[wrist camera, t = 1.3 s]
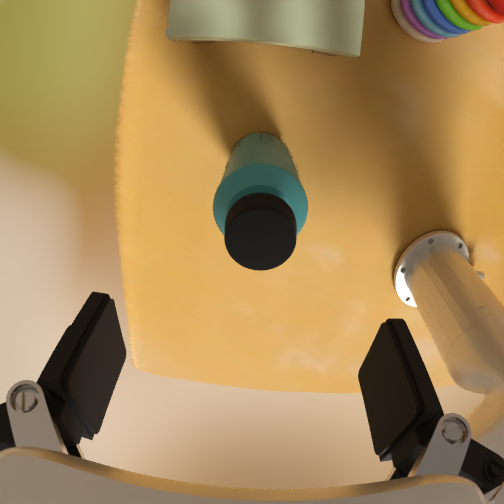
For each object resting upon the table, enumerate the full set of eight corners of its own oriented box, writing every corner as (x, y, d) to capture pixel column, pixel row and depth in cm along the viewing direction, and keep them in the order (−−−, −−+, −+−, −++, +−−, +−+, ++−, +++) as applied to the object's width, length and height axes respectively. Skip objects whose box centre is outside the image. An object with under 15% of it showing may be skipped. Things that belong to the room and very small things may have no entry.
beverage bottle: (219, 149, 34) (171, 228, 16) (270, 116, 32) (278, 158, 14) (253, 195, 36) (242, 310, 19) (302, 164, 34) (341, 258, 17)
